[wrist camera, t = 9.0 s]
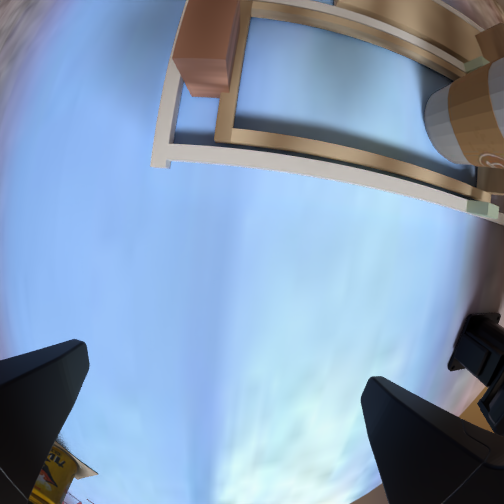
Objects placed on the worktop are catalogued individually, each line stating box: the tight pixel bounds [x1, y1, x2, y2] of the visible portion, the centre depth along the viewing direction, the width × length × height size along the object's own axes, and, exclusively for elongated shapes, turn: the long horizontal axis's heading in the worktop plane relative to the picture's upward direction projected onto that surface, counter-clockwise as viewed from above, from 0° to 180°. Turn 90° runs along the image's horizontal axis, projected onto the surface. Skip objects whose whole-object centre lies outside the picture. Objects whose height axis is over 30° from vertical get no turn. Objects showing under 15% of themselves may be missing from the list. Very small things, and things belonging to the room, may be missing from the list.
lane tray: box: [150, 0, 504, 226], centre depth 14 cm, size 37×23×4 cm, turn 83°
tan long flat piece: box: [334, 0, 483, 63], centre depth 14 cm, size 25×6×1 cm, turn 83°
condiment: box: [27, 441, 98, 504], centre depth 18 cm, size 7×8×12 cm
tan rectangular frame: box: [172, 0, 504, 203], centre depth 13 cm, size 25×11×6 cm, turn 83°
